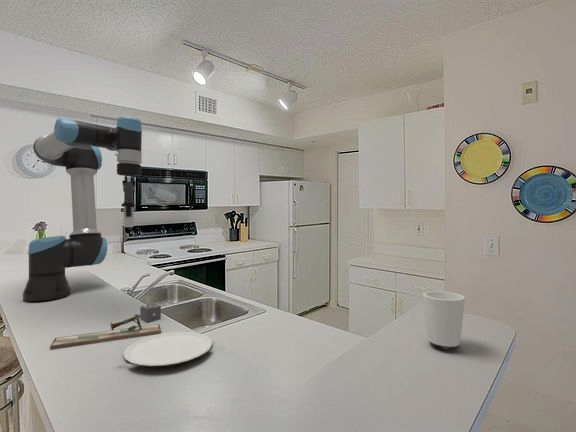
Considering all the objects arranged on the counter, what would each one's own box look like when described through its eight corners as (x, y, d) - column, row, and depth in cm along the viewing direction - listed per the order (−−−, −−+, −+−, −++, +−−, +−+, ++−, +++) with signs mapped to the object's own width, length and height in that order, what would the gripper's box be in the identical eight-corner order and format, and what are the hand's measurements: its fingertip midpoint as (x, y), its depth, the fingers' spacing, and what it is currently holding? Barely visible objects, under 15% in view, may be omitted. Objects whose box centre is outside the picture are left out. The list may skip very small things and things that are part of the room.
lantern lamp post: (110, 324, 90) (141, 313, 94) (110, 322, 92) (140, 311, 95) (114, 339, 91) (145, 328, 94) (114, 337, 92) (144, 326, 96)
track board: (55, 340, 88) (55, 337, 88) (159, 326, 99) (159, 323, 99) (50, 349, 82) (50, 346, 82) (161, 333, 94) (161, 330, 94)
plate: (124, 378, 68) (124, 372, 68) (122, 344, 87) (122, 339, 87) (222, 358, 78) (222, 353, 78) (202, 331, 97) (202, 326, 97)
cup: (461, 339, 88) (461, 292, 88) (468, 354, 79) (468, 301, 79) (421, 335, 92) (421, 289, 92) (424, 349, 82) (424, 298, 82)
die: (140, 320, 105) (140, 306, 105) (153, 317, 109) (153, 303, 109) (147, 323, 102) (147, 308, 102) (161, 320, 106) (161, 305, 106)
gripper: (118, 167, 122) (118, 224, 122) (114, 157, 99) (114, 228, 99) (140, 168, 125) (140, 224, 125) (141, 159, 102) (141, 227, 102)
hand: (128, 226), depth 112 cm, fingers open, 13 cm apart
